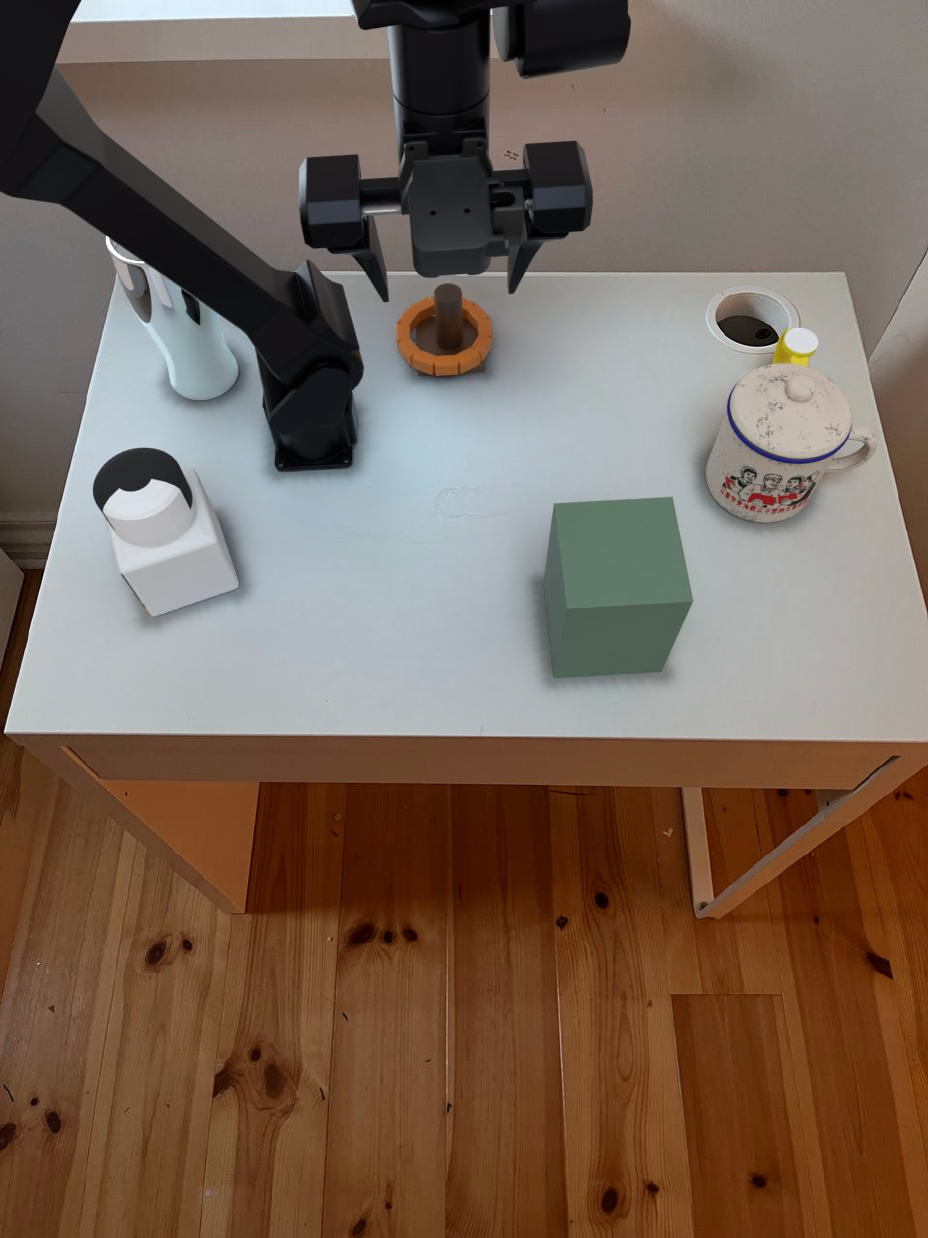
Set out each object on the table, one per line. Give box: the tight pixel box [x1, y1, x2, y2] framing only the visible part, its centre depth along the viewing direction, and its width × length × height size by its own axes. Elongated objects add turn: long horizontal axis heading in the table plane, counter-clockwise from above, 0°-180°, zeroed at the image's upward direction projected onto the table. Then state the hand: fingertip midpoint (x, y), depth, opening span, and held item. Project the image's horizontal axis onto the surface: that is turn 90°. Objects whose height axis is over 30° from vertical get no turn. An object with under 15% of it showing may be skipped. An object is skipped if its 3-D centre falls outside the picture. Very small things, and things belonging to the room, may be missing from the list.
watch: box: [771, 327, 819, 367], centre depth 76 cm, size 6×3×6 cm, turn 175°
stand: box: [415, 282, 486, 377], centre depth 78 cm, size 6×6×6 cm
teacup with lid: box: [705, 362, 878, 524], centre depth 68 cm, size 12×9×12 cm
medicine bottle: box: [92, 447, 240, 618], centre depth 65 cm, size 7×7×12 cm
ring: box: [395, 295, 493, 377], centre depth 79 cm, size 8×8×1 cm
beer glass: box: [105, 236, 239, 401], centre depth 73 cm, size 7×7×15 cm
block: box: [542, 496, 694, 679], centre depth 63 cm, size 8×8×11 cm
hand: (448, 294), depth 66 cm, fingers open, 9 cm apart
